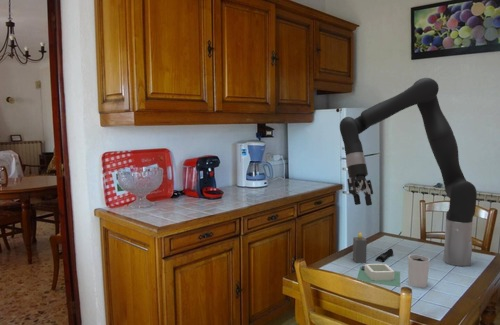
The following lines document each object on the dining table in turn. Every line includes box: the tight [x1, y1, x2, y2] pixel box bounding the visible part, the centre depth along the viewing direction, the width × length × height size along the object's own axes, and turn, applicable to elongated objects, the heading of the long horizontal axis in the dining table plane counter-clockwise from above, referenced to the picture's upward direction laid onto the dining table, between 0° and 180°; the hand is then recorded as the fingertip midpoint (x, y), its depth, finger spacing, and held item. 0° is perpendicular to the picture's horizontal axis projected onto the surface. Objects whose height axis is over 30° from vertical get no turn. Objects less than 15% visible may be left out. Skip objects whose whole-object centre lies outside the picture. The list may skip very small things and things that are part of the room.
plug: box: [352, 232, 368, 264], centre depth 152 cm, size 4×4×12 cm
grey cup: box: [407, 254, 431, 288], centre depth 131 cm, size 7×7×10 cm
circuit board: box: [356, 265, 401, 288], centre depth 138 cm, size 14×14×2 cm
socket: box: [364, 263, 395, 281], centre depth 138 cm, size 8×8×3 cm
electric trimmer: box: [374, 248, 394, 264], centre depth 158 cm, size 4×15×3 cm, turn 142°
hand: (363, 204), depth 153 cm, fingers open, 8 cm apart
